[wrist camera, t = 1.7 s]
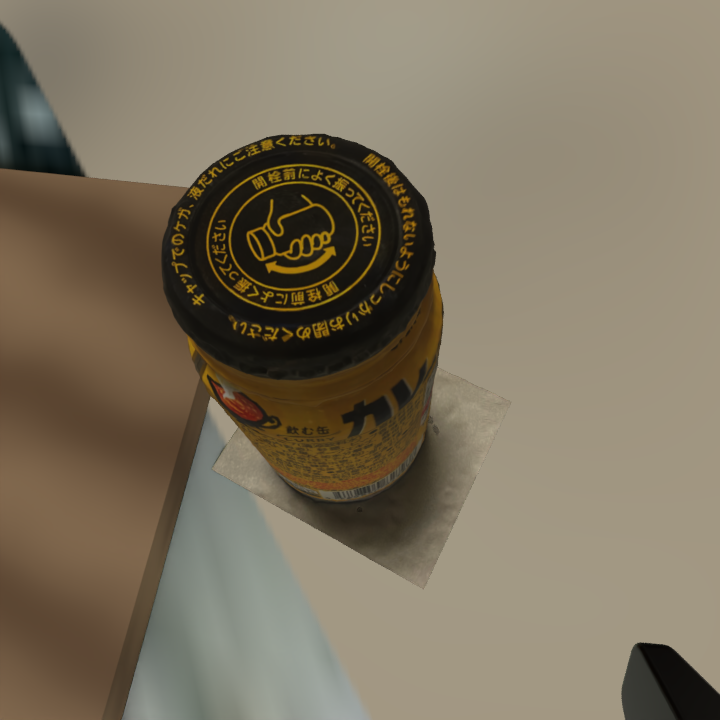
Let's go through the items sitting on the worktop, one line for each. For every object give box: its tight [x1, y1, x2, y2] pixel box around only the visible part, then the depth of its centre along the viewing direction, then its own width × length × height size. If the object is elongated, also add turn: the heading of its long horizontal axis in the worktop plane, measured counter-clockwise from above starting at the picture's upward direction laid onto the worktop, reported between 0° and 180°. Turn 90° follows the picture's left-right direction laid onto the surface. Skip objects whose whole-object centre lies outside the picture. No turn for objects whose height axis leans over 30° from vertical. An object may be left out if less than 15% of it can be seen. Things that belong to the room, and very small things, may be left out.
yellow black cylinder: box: [161, 134, 511, 589], centre depth 16 cm, size 7×8×12 cm
